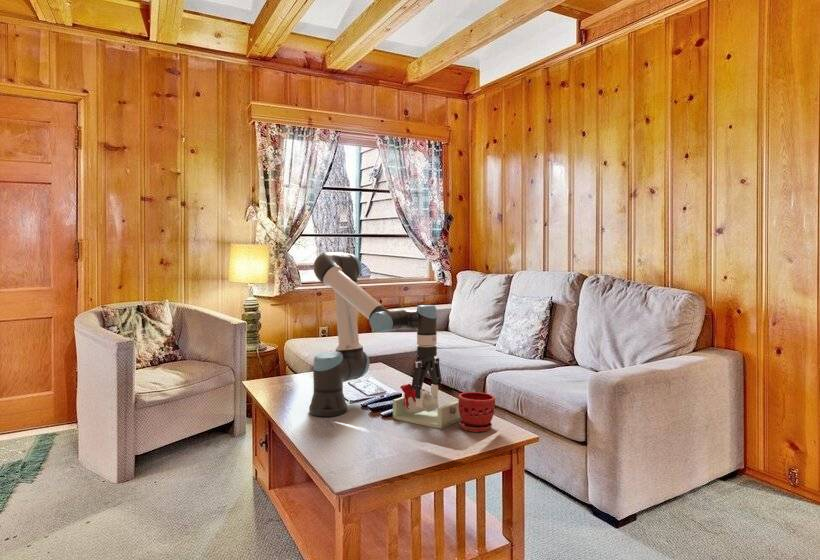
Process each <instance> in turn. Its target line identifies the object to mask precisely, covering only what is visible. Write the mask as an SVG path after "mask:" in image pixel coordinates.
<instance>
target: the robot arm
mask: <svg viewBox="0 0 820 560" xmlns="http://www.w3.org/2000/svg"><path fill="white" fill-rule="evenodd" d="M362 269H363V268H362V263H361V261H360V259H359V258H358V257H357V256H356V255H355V254H352V253H348V252H331V251H330V252H323V253H321V254H319V255H317V257H316V259H315V260H314V262H313V272H314V275H315V277H316V278H317V280H319V281H320V282H321V283H322V284H323V285H324V286H325V287H329V288H330V287H331V289H333V292H334V301H335V302H334V304H335V316H336V328H337V338H338V339H337V340H338V345H337V346H336V348H335V350H333V351H332V350H331V351H324V352H321V353H318V354H317V355H315V356H314V358H313V366H312V369H313V370H312V371H313V372H312V373H313V375H312V376H313V393H312V397H311V402H310V404H309V407H308V409H309V410H308V413H309V414H310V415H312V416H316V417H317V416H318V417H335V416H339V415H344V414H346V413H347V412H348V404H347V401H346V398H345V395H344V391H343V390H344V389H343V388H344V387H343V386H344V385H343V384H344V383H345V382H348V381H352V380H358V379H359V378H362V377H364V376H365V375H366V374H367V373H368V371H369V369H370V358H369V355H368V354H367V353H366V352H365V351H364V346H363V345H362V344H361V343H360V342H359V328H358V316H357V315H358V314H357V311H358V312H359V313H361V314H362V315H363V316H364V317H365V318H366V319H367V320H368V321H369V325H370V328H371V329H372V331H374V332H375V333H387V332H392V331H398V330H399V331H400V330H401V331H402V330H416V345H417V347H416V355H417V356H418V357H419V360H418V361H414V362H413V374H412V382H411V386H412V387H411V388H412V389H415V394H416V396H415V397H416V407H421V408H422V407H423V390H421V388H422V387H423V384H424V382H425V377H426V374H427V373H428V374H429V376H430V377H429V378H430V380H431V383H432V384H430V395H432V396H433V397H434V398H435V400H436V401H437V402H438V403H439V386H440V385H442V384H441V383H442V375H441V368H440V358H439V357H436V356H437V354H438V349H437V348H438V347H437V343H438V341H437V340H438V339H437V323H438V322H437V318H438V316H437V307H436V306H435V305H433V304H419V305H417V306H416V309H402V308H399V309H398V308H396V309H393V310H389V309H387V308H386V307H385V306H383V304H382V303H380V302H379V301H378V300H376V299H375V298H374V297H373V296H372V295H370V294H369V293H368V292H367V291H366V290H365V289H363V287H361V286H360V285H359V284H358V279H359V278H360V276H361V275H362ZM422 389H423V388H422Z"/></svg>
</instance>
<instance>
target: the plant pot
mask: <svg viewBox="0 0 820 560" xmlns="http://www.w3.org/2000/svg"><path fill="white" fill-rule="evenodd" d="M457 401H458V406H459V414H460V417H461V419H462V420H460V421H458V422H459V423H458V424H459V427H460V428H461V429H463V430H465V431H468V432H472V433H473V432H475V433H480V432H482V433H483V432H486V431H489V430H490V429H492V426H493V424H492V420H493V417H494V415H495V410H496V409H495V408H496V397H495V396H494V395H492V394H489V393H487V392H479V391H477V392H476V391H467V392H461V393H459V395H458V400H457Z"/></svg>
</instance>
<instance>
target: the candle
mask: <svg viewBox="0 0 820 560" xmlns="http://www.w3.org/2000/svg"><path fill="white" fill-rule="evenodd" d="M411 387H412V383H407V384H403V385H401V386H400V387H399V388H400V390H401V391H402V392H403V394H404V396H403V397H404V405H405V407H406V409H407V411H408V412H409V413H418V412H422V411H427V412H431V411H433V412H434V411H437V409H438V408H439V407H440V405H439V401H438V402H437V401H436V400H435V398H434V397H433V396H432V395H431V391H430V390H428V389H427V388H421V390H423V407H422V408H421V407H416V397H415V396H416V394H415V389H412V388H411Z"/></svg>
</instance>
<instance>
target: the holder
mask: <svg viewBox="0 0 820 560" xmlns="http://www.w3.org/2000/svg"><path fill="white" fill-rule="evenodd" d="M392 419H393V420H398V421H403V422H407V423H411V424H417V425H421V426H426V427H431V428H436V429H440V430H442V429H444V428H447V427H449V426H451V425H453V424H455V423H458V422H460V421H461V420H462V419H461V417H460V414H459V406H458V400H456V401H452V402H450V403H447V404H445V405H443V406H439V407H438V408H437V411H434V410H433V411H431V412H427V411H422V412H418V413H409V412H408V411H407V409H406V407H405V405H404V396H401V397H398V398H394V399H392Z"/></svg>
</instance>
